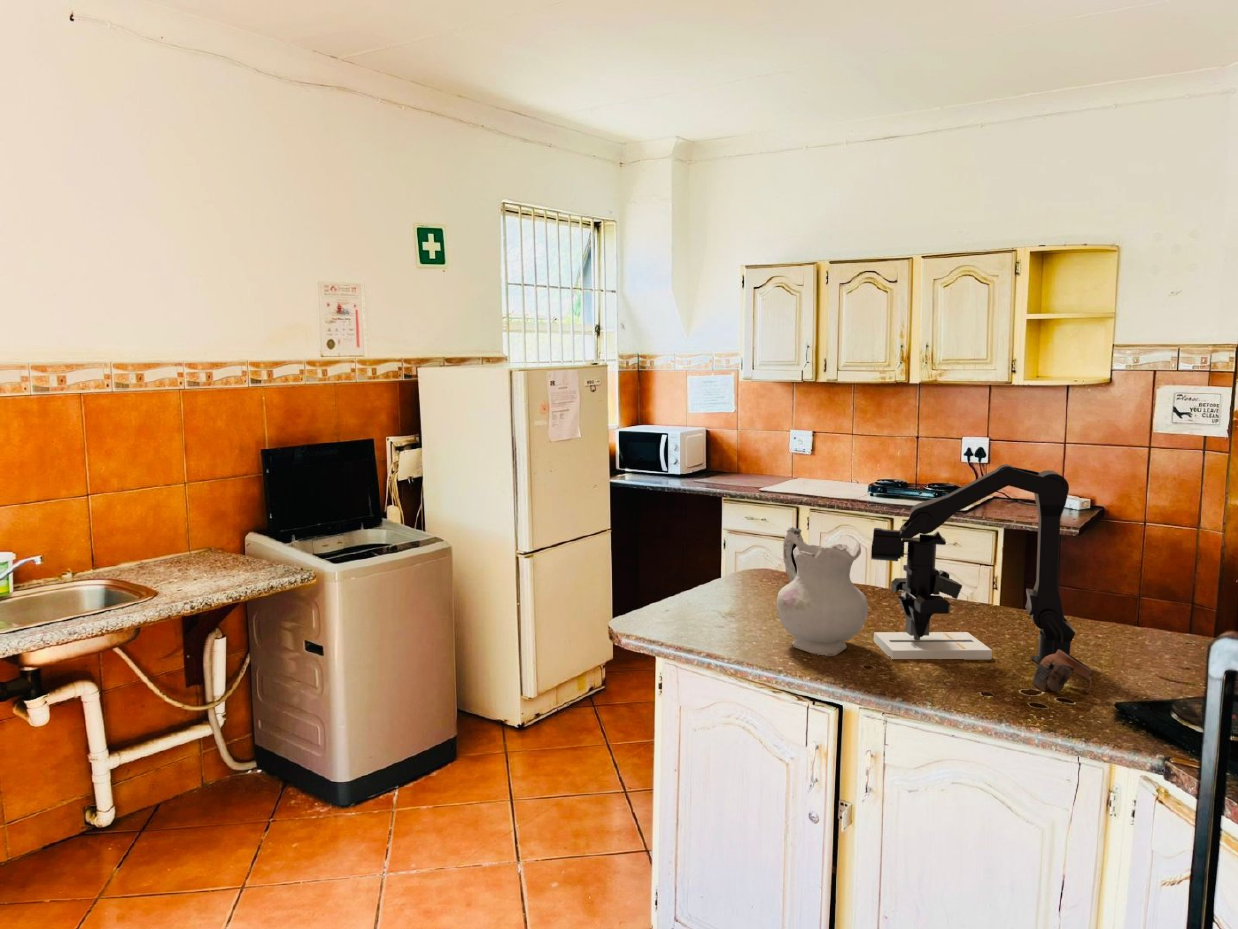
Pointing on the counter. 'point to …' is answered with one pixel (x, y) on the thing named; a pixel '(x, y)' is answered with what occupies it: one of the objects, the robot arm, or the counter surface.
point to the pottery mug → (1060, 671)
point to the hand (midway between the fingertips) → (917, 634)
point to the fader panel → (932, 646)
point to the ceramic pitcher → (820, 596)
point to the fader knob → (911, 629)
